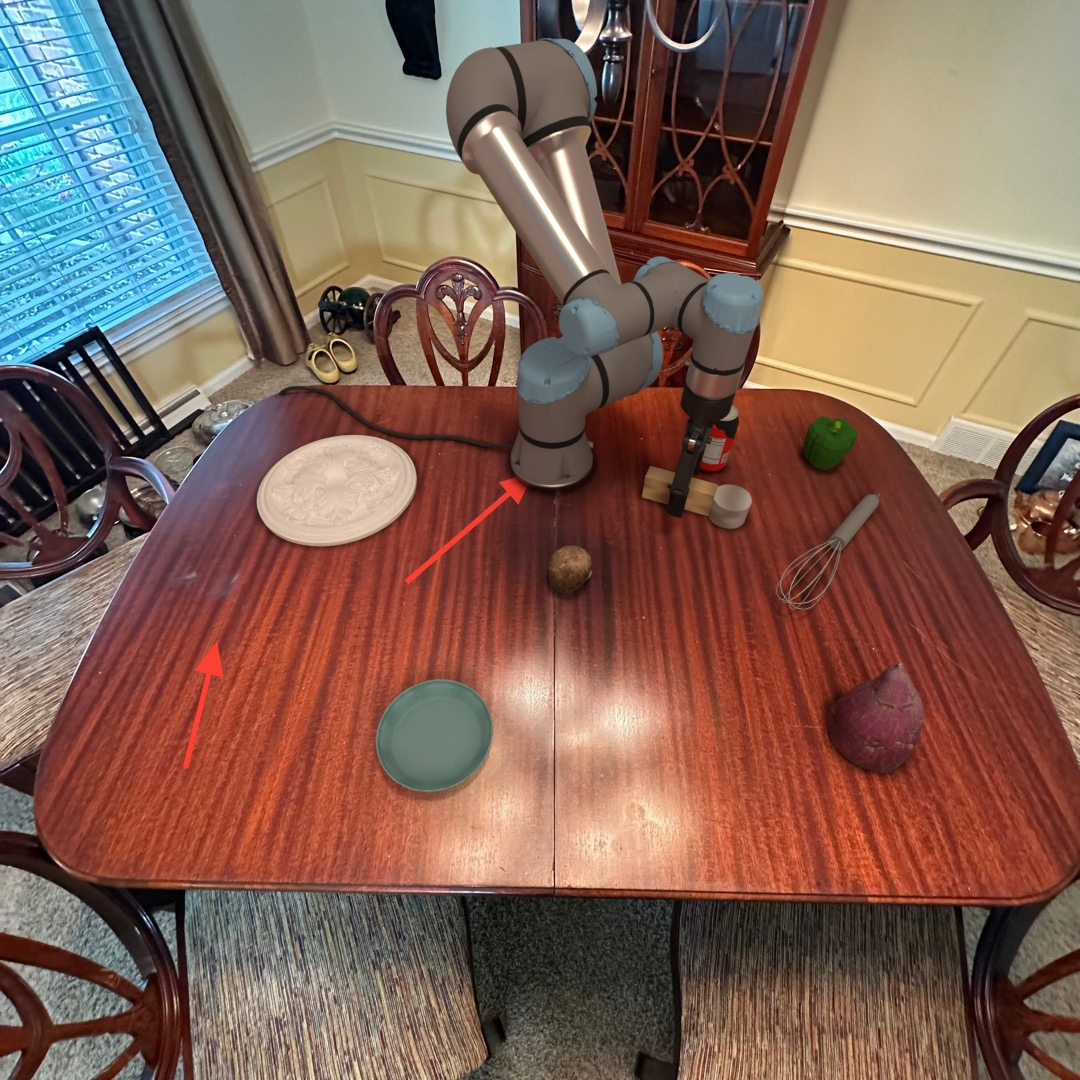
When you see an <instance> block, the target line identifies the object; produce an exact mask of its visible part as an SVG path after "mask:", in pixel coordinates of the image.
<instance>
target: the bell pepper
mask: <svg viewBox="0 0 1080 1080" xmlns="http://www.w3.org/2000/svg"><path fill="white" fill-rule="evenodd" d="M857 439H858V430H857V429H856V428H854V427H853V426H852V424H850V422H849V421H848V420H847V419H846V418H839V417H837V418H835V419H832V418H830V417H829V416H824V415H820V416H818V418H816V419H815V420H814V421H812V423H811V424H810V425H808V429H807V432H806V434H805V436H804V442H803V452H802V453H803V457H804V458H805V460H806V461H808V462H809V465H810V466H812V467H813V468H814V469H818V470H820V471H828V470H830V469H832V468H834V467H836V466H837V465H838V464H839V463H841V461H842V460H843V459H844V458H845V457H847V455H848V454H849V453H850V452H851V450H852V449H853V448H854V445H855V444H856V442H857Z"/></svg>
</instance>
